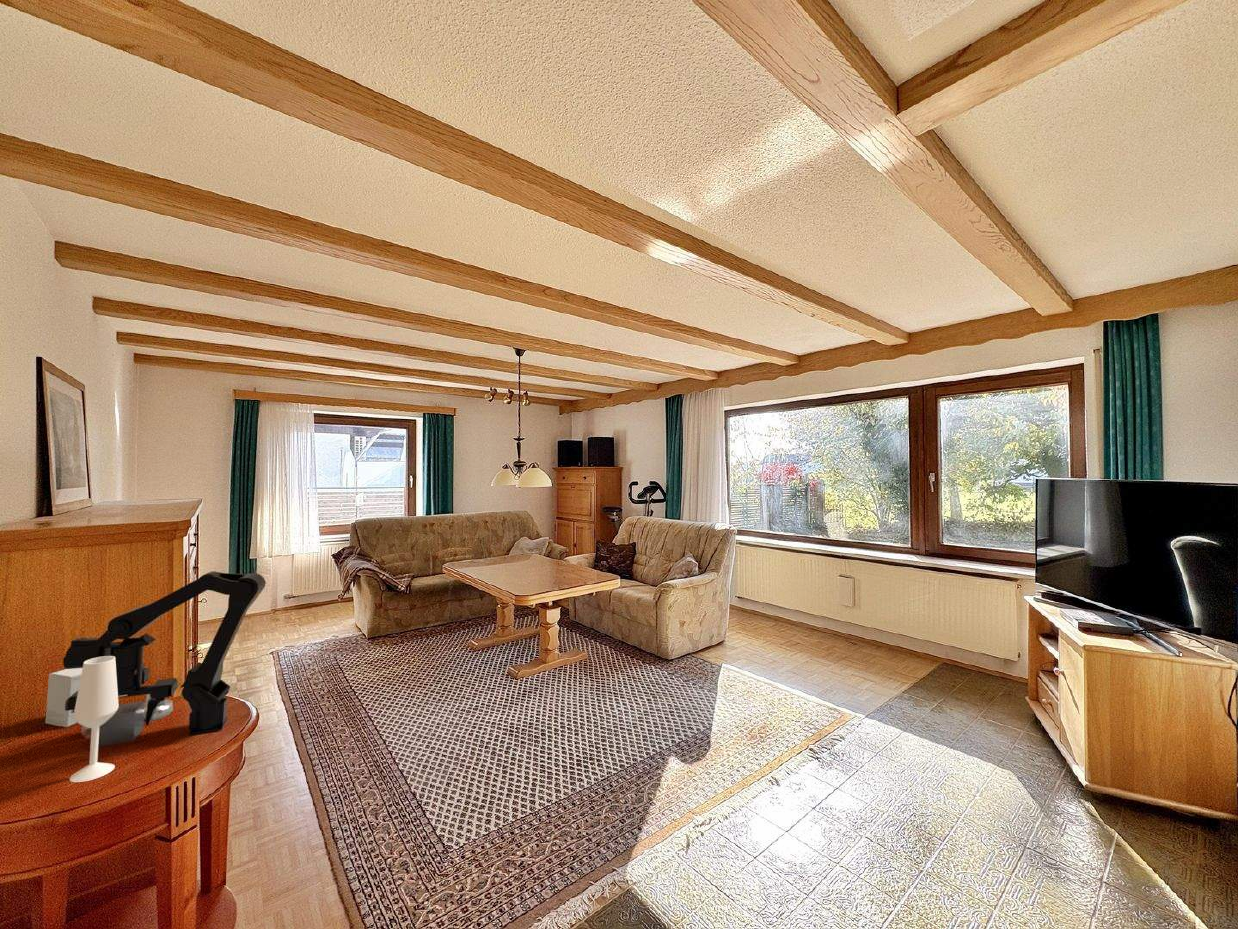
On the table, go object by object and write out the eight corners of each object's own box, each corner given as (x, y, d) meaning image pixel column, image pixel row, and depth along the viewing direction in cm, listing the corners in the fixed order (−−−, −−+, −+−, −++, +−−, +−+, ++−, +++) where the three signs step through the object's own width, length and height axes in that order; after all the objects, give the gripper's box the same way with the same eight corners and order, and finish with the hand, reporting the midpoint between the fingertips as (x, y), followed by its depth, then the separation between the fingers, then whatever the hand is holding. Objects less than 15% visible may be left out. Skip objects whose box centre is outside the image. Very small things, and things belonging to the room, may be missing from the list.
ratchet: (79, 731, 121) (81, 705, 121) (167, 706, 135) (168, 682, 135) (87, 740, 118) (89, 713, 118) (176, 713, 132) (177, 689, 132)
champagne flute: (113, 759, 111) (119, 652, 111) (116, 772, 106) (123, 660, 107) (68, 773, 105) (75, 660, 106) (70, 786, 101) (77, 668, 102)
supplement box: (66, 728, 123) (69, 677, 123) (44, 724, 124) (47, 673, 124) (102, 714, 130) (105, 666, 130) (81, 710, 131) (84, 662, 132)
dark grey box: (143, 729, 123) (144, 701, 124) (133, 741, 118) (135, 711, 118) (110, 734, 121) (112, 705, 121) (98, 746, 115) (100, 716, 115)
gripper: (186, 648, 131) (182, 707, 131) (89, 657, 123) (85, 721, 122) (172, 663, 121) (168, 727, 121) (65, 674, 113) (61, 743, 112)
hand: (122, 729), depth 119 cm, fingers open, 9 cm apart
